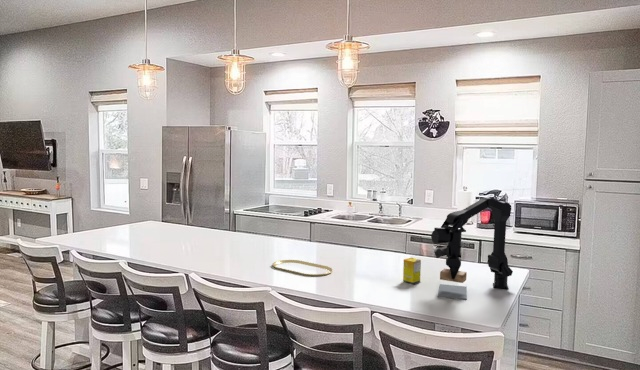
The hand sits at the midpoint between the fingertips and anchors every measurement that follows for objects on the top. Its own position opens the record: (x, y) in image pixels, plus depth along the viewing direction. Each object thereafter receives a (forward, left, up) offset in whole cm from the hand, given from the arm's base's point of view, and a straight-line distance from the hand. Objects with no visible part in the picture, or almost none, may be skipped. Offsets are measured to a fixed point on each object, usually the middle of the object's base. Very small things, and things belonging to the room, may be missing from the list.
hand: (453, 276), depth 209 cm
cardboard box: (0, 0, -1) cm, 1 cm away
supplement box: (-10, -19, -7) cm, 23 cm away
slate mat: (0, 0, -7) cm, 7 cm away
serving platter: (-15, -76, -8) cm, 78 cm away
